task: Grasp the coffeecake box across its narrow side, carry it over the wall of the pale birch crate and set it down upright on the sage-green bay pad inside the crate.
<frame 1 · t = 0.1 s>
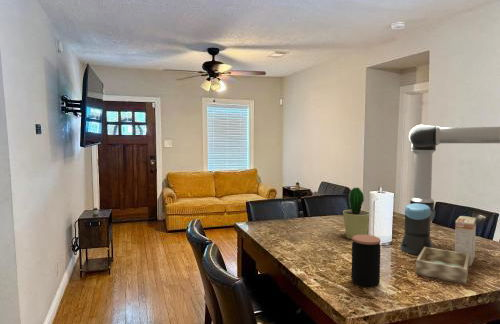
crate: (442, 270, 145), on the table
coffee jar: (365, 283, 133), on the table
coffeecake box: (464, 260, 158), on the table
potted cactus: (356, 237, 196), on the table
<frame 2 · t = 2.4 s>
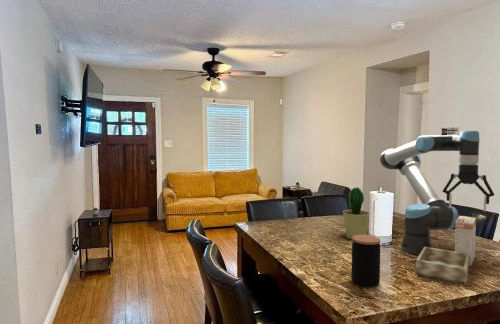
hand: (466, 209, 157), 24 cm above the table, fingers open, 13 cm apart
nothing on the table moved.
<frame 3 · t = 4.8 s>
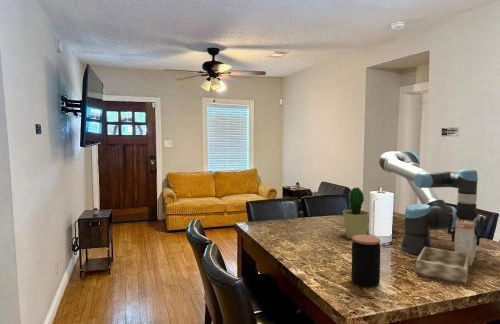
hand: (464, 250, 158), 5 cm above the table, fingers closed on coffeecake box, 7 cm apart
coffeecake box: (464, 260, 158), on the table, touching gripper
everything else where it was.
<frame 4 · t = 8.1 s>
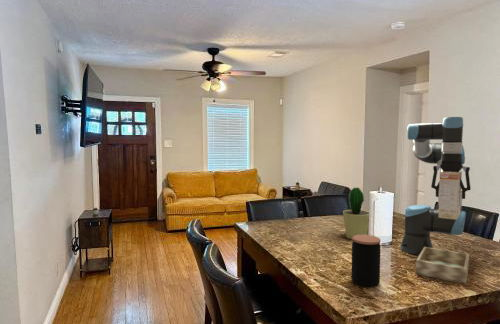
hand: (449, 205, 146), 28 cm above the table, fingers closed on coffeecake box, 7 cm apart
coffeecake box: (449, 216, 146), point 23 cm above the table, touching gripper
everything else where it was.
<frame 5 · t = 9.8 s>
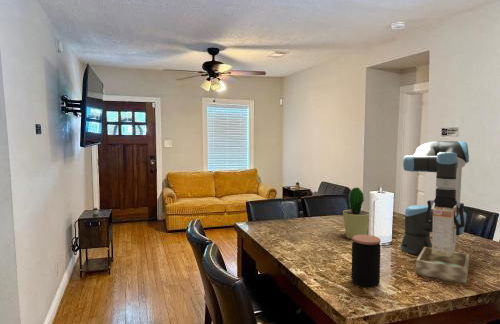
hand: (443, 240, 144), 13 cm above the table, fingers closed on coffeecake box, 7 cm apart
coffeecake box: (443, 251, 145), point 8 cm above the table, touching gripper
everything else where it was.
when the fingers open (7 cm above the table, at t = 11.5 s): coffeecake box stays where it is, resting on crate.
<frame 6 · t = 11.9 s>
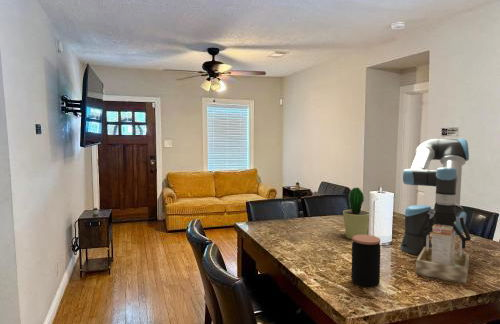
hand: (443, 252, 145), 8 cm above the table, fingers open, 12 cm apart
coffeecake box: (442, 268, 145), point 1 cm above the table, touching crate
everything else where it was.
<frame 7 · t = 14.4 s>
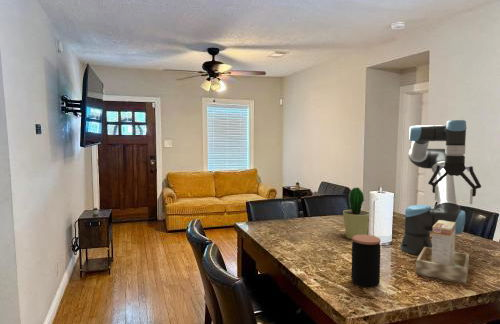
hand: (453, 201, 151), 29 cm above the table, fingers open, 13 cm apart
nothing on the table moved.
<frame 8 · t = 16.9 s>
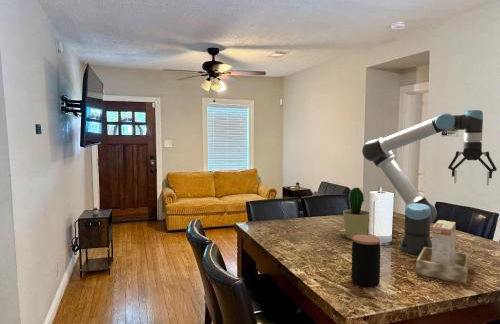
hand: (471, 184, 167), 35 cm above the table, fingers open, 13 cm apart
nothing on the table moved.
at the end: coffeecake box inside the target area on the crate (0.0 cm from its centre), point 0.8 cm above the crate's base; coffeecake box tilted 0°; the gripper is holding nothing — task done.
